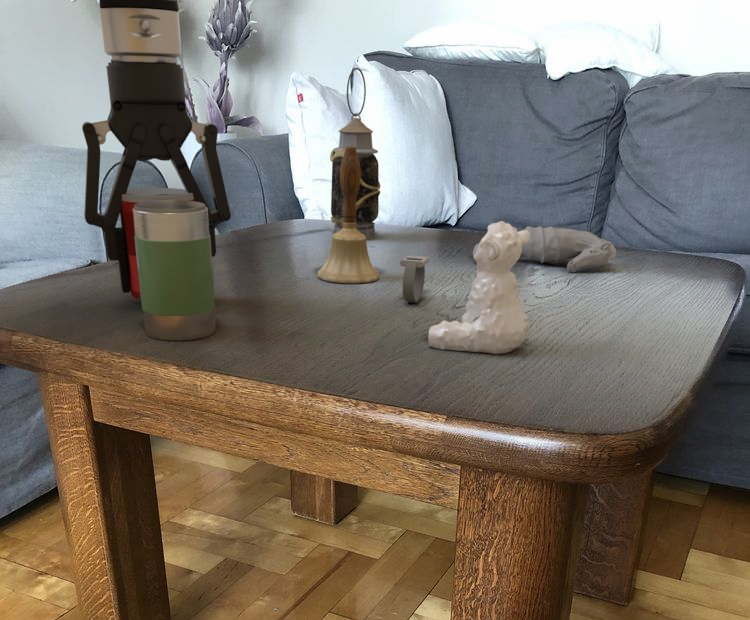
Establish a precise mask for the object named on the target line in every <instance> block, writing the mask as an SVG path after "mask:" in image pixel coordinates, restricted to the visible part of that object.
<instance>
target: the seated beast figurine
mask: <svg viewBox="0 0 750 620" xmlns="http://www.w3.org/2000/svg"><path fill="white" fill-rule="evenodd" d="M529 238H530V233H529V232H528V230H525V229H523V230H522V229H521V230H519V231H518V229H517V228H516V227H515V226H512V225H511V224H510V223H509V222H505V221H503V220H501V221H497V222H494V223H490V224H489V225H488V226H487V232H486V234H485V235H483V236H482V238H481V239H480V241H479V243H480V244H479V243H478V244H479V246H478V249H477V251H476V253H475V255H474V258H473V260H474V261H475V262H476V263H475V264H476V269H475V272H476V276H475V278H474V280H473V281H472V283H471V288H470V292H469V294H468V300H467V303H466V305H465V312H464V314H462V315H461V322H459V320H452V321H448V320H442V321H440V323H437V324H435V325H431V326H430V328H429V329H428V338H427V341H428V347H430V348H431V347H432V348H434V349H440V350H442V351H443V350H449V351H459V352H471V353H486V354H493V355H494V354H495V355H500V354H507V353H510V352H512V351H514V350H516V349H518V348H520V347H521V345H522V344H523V342H524V341H526V340H527V333H528V329H529V326H530V323H529V321H528V319H529V317H528V316H527V315H526V313H525V311H524V309H523V307H522V304H521V299H520V298H519V295H520V289H519V285H518V283H519V282H518V280H517V279H516V275H515V274H514V272H513V271H511V269H512V268H513V267H514V266H515V265H516V264H517V262H518V261H519V260H520V258H521V255H522V254H521V253H522V246H523V245H526V244H527V243H528V242H529Z"/></svg>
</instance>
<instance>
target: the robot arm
mask: <svg viewBox="0 0 750 620" xmlns="http://www.w3.org/2000/svg"><path fill="white" fill-rule="evenodd" d="M98 2H99V13H100V21H101V30H102V39H103V49H104V53H105V54H106V55H107V56H111V59H110V62H107V65H106V67H105V68H106V75H107V83H108V84H107V85H108V93H109V101H110V102H109V103H110V111H109V113H108V117H107V119H106V120H100V121H94V122H90V121H84V122H83V123H82V125H81V130H82V133H83V137H84V140H85V143H86V146H87V147H86V169H85V189H84V193H85V194H84V213H83V214H84V221H85V223H87V224H88V225H90V226H94V227H98V228H100V229H102V231H103V235H104V243H105V244H104V245H105V251H106V256H107V258H108V260H109V262H114V261H115V262H116V261H117V263H118V271H119V280H120V288H121V291H122V293H123V294H127V293H131V292H130V287H129V278H128V269H127V260H126V251H125V242H124V233H123V230H122V226H121V227H119V226H118V227H117V224H118V220H119V217H120V211H121V208H122V194H126V192H127V190H129V185H130V182H131V179H132V176H133V174H134V173H133V172H134V171H135V169H136V168H135V167H136V165H137V162H138V161H139V162H148V161H150V160H157V161H162V162H163V161H164V162H165V161H166V162H167V161H170V162H171V164H172V166H173V168H174V169H175V171H176V174H177V175H178V178H179V179H180V181H181V183H182V185H183V189H185V190H186V191H187V192H188V193H193V197H194V201H195V202H201V203H204V204H205V207H207V208H208V223H209V234H210V237H211V253H212V258H213V257H216V254H217V242H216V227H217V226H218V225H219V224H221V223H223V222H228V221H230V219H231V218H232V216H231V215H232V214H231V210H230V205H229V201H228V195H227V192H226V188H225V183H224V178H223V173H222V169H221V165H220V160H219V155H218V150H217V144H218V143H217V142H218V133H219V129H218V126H216V125H215V124H213V123H211V122H206V123H202V122H198V121H194V120H193V121H192V118H191V117H190V115H189V113H188V110H187V104H186V93H185V92H186V91H185V90H186V89H185V77H184V76H185V75H184V68H183V67H182V65H181V64H180V63H179V64H177V58H181V57H182V55H183V51H182V40H181V28H180V17H179V16H180V15H179V4H178V3H179V0H98ZM109 132H111V133H112V134H113V135H114V137H115V138H116V139H117V140H118V142H119V143H120V144H121V146H122V147H123V148H124V149H123V151H122V155H121V158H120V161H119V162H120V163H119V166H118V170H117V173H116V176H115V178H114V182H113V185H112V188H111V192H110V195H109V199H108V201H107V204H106V208H105V211H104V214H103V213H100V212H98V210H99V208H98V207H99V194H100V193H99V192H100V191H99V190H100V172H101V145H104V144H105V143H106V140H107V134H108V133H109ZM190 133H192V134H194V137H195V138H194V139H195V141H196V142H197V143H198V144H199V145H201V152H202V157H203V161H204V165H205V170H206V174H207V179H208V182H209V183H208V184H209V189H210V192H211V196H212V200H213V205H214V210H212V211H211V210H210V208H209V206H208V203H207V202H206V199H205V198H204V196H203V194H202V192H201V189H200V188H199V185H198V183H197V181H196V179H195V177H194V175H193V173H192V171H191V169H190V166H189V164H188V161H187V160H186V158H185V156H184V154H183V152H182V150H181V148H182V147H183V145H184V144H185V142H186V140H187V138H188V137H189V136H190Z"/></svg>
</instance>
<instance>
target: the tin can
mask: <svg viewBox="0 0 750 620" xmlns="http://www.w3.org/2000/svg"><path fill="white" fill-rule="evenodd" d="M208 208H209V207H208ZM208 208H207V207H205V204H204V203H201V202H195V201H184V200H157V201H146V202H140V203H137V204H135V205H134V208H133V219H134V228H135V236H134V239H135V248H136V257H137V267H138V276H139V286H140V295H141V300H140V303H141V309H142V313H143V321H144V322H143V323H144V331H145V335H146V336H148V337H149V338H152V339H155V340H160V341H167V342H168V341H172V342H175V341H176V342H184V341H185V342H186V341H193V340H199V339H204V338H208V337H210V336H212V335H214V333H215V332H216V318H215V316H216V315H215V307H216V302H215V301H216V299H215V286H214V284H215V283H214V270H213V257H212V253H211V237H210V234H209V223H208Z"/></svg>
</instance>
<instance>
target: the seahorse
mask: <svg viewBox="0 0 750 620" xmlns="http://www.w3.org/2000/svg"><path fill="white" fill-rule="evenodd" d="M524 230H528V232H529V233H530V238H529V242H528V243H527V244H526V245H523V246H522V253H521V255H522V256H523V257H524V258H526V260H527V261H537V262H539V263H541V264H544V263H548V264H551V265H557V264H563V263H565V262H566V261H568V260H570V259H572V260H570V261H569V262H568V263H567V264H566V269H567V272H568V273H570V272H571V273H575V272H576V271H581V270H588V269H593V268H597V267H602V266H603V267H604V266H609V265H610V262H608V261H609V260H610V261H612V260H614V259H615V258H616V257H617V249H616V247H615V246H614V244H613V242H611V241H609V240H607V239H604V238H600V237H598V236H597V235H596V234H594V233H593V232H590V231H585V230H577V229H571V228H567V227H566V228H563V227H562V228H561V227H560V228H558V227H553V226H548V227H542V226H541V225H539V226H537V227H533V226H529V225H528V226H526V227H525V228H524ZM479 244H480V242H478V243H476V244H475V246H474V247H473V250H472V257H473V259H474V255H475V253H476V251H477V249H478V246H479Z"/></svg>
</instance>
